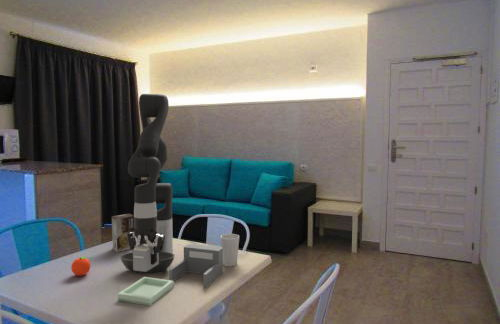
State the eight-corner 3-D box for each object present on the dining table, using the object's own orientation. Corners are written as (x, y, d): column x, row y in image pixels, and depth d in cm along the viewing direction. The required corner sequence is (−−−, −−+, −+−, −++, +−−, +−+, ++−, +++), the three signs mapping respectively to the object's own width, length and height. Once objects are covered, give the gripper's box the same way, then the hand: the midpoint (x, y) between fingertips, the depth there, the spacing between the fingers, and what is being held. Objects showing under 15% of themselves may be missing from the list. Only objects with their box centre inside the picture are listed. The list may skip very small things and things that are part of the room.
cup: (240, 260, 164) (240, 234, 163) (237, 267, 156) (237, 239, 155) (222, 260, 165) (222, 233, 164) (219, 266, 157) (219, 238, 156)
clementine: (85, 269, 153) (85, 252, 152) (96, 273, 149) (96, 255, 149) (67, 276, 146) (67, 258, 146) (78, 279, 143) (78, 261, 142)
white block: (132, 270, 126) (131, 249, 126) (146, 262, 135) (146, 241, 134) (145, 272, 125) (144, 250, 124) (158, 263, 133) (158, 243, 132)
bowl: (171, 276, 146) (171, 261, 146) (115, 276, 146) (115, 260, 146) (177, 265, 158) (177, 251, 158) (125, 265, 159) (125, 250, 158)
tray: (117, 300, 125) (117, 293, 125) (144, 282, 140) (144, 276, 140) (150, 305, 122) (149, 298, 121) (173, 287, 136) (173, 280, 136)
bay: (168, 282, 141) (168, 256, 140) (188, 267, 156) (188, 244, 155) (206, 287, 136) (206, 261, 135) (222, 272, 151) (222, 247, 150)
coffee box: (130, 245, 186) (129, 213, 185) (135, 248, 181) (134, 215, 180) (112, 248, 180) (111, 215, 179) (116, 252, 175) (116, 218, 174)
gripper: (121, 215, 127) (122, 264, 129) (157, 218, 123) (158, 269, 124) (134, 211, 134) (135, 257, 136) (169, 214, 130) (170, 261, 131)
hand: (146, 262), depth 130 cm, fingers closed on white block, 5 cm apart
